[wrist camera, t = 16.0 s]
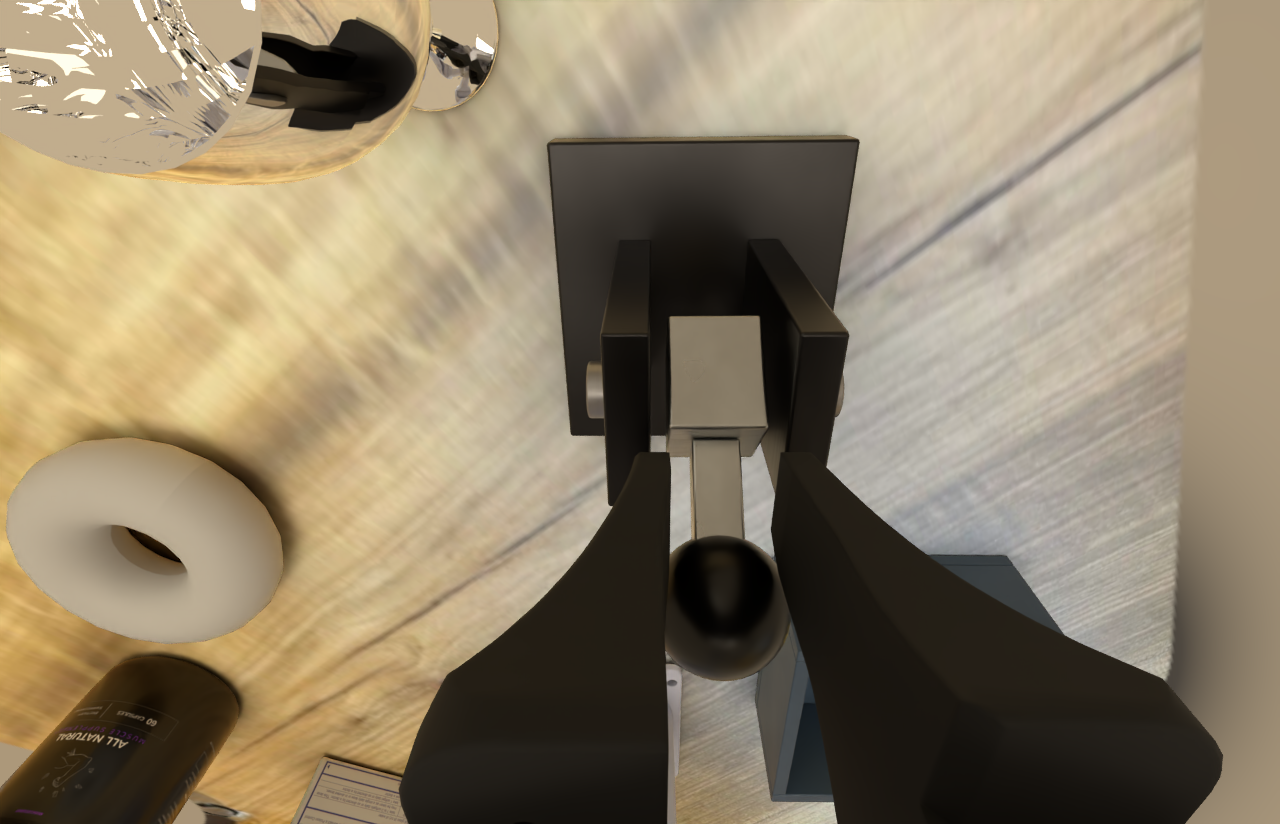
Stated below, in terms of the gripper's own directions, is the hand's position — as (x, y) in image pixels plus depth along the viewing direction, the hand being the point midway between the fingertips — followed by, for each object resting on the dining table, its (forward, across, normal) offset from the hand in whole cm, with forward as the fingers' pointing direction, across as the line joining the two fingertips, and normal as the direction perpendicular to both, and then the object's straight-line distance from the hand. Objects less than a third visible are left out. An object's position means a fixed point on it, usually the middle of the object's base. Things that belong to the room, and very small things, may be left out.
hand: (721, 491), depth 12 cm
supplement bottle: (+10, +27, +21) cm, 36 cm away
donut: (+10, +22, +9) cm, 26 cm away
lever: (+2, 0, +2) cm, 3 cm away
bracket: (+10, 0, -1) cm, 10 cm away
